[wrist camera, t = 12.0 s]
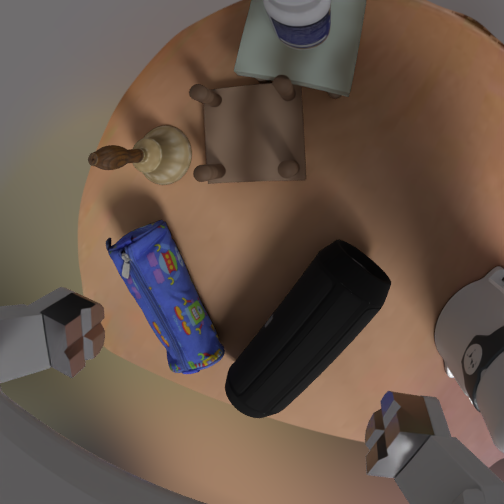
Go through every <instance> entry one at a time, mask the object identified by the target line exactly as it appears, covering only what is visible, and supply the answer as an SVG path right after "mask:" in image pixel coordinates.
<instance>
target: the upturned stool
mask: <svg viewBox="0 0 504 504" xmlns="http://www.w3.org/2000/svg"><path fill="white" fill-rule="evenodd" d="M282 76H283V77H284V75H281V77H282ZM285 76H286V75H285ZM279 77H280V75H279ZM279 77H278V76H277V77H275V78H274V80H273V83H269V84H257V85H246V86H237V87H228V88H220V89H213V90H210V89H208V88H206V87H204V86H203V85H201V84H196V85H193V86H192V87H191V89H190V91H189V95H190V97H191V98H192V99H194V100H196V101H199V102H201V103H204V123H205V142H206V160H207V165H199V166H197V167H196V168H195V169H194V173H193V174H194V178H195V179H196V180H197V181H199V182H204V181H208V184H210V183H229V182H253V181H288V180H306V164H305V141H304V122H303V105H302V90H301V86H299V85H294V84H292V83H291V80H289V79H287V78H286V79H283V78H281V77H280V78H279ZM286 77H288V76H286ZM284 78H285V77H284ZM288 78H289V77H288Z"/></svg>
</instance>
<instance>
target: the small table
mask: <svg viewBox="0 0 504 504" xmlns="http://www.w3.org/2000/svg"><path fill="white" fill-rule="evenodd" d="M365 6H366V0H331V26H330V33H329V36H328V38H327V39H326V41H325V42H324V43H323V44H321V45H320V46H318V47H316V48H313V49H310V50H297V49H293V48H290V47H288V46H286V45H285V44H283V43H282V42H281V41H280V40H279V38H278V37H277V35H276V33H275V31H274V29H273V26H272V23H271V21H270V19H269V16H268V14H267V12H266V10H265V7H264V3H263V0H252V1H251V4H250V8H249V12H248V16H247V19H246V23H245V27H244V31H243V35H242V39H241V43H240V47H239V51H238V55H237V59H236V64H235V68H234V72H235V73H236V74H238V75H239V76H247V77H254V78H256V79H257V80H258V81H259V82H260V83H261V84H267V83H269V82H270V80H272V81H273V80H274V78H275V77H277V76H278V77H279V75H280V77H281V75H284V77H285V78H284V77H283V76H282V77H281V78H283V79H286V78H287V79H289V80H291V83H292V84H294V85H299V86H304V87H309V88H313V89H318V90H322V91H327V92H328V94H329V96H330V97H332V98H334V99H337V98H340V97H341V96H342V95H343V96H347V97H349V94H350V90H351V85H352V80H353V75H354V70H355V65H356V59H357V54H358V48H359V43H360V37H361V31H362V25H363V19H364V13H365ZM285 75H286V76H288V77H289V78H288V77H286V76H285ZM280 77H279V78H280Z"/></svg>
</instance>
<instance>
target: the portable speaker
mask: <svg viewBox="0 0 504 504" xmlns="http://www.w3.org/2000/svg"><path fill="white" fill-rule="evenodd" d="M390 286H391V281H390V279H389V277H388V276H387V275H386V273H385V272H384V271H383V270H382V269H381V268H380V267H379V266H378V265H377V264H376V263H375V262H374V261H372V260H371V259H370V258H369V257H367V256H366V255H365V254H364V253H362V252H361V251H360V250H358V249H357V248H355V247H354V246H352V245H350V244H348V243H347V242H345V241H342V240H336V241H334V242H333V243H331V244H330V245H328V246H327V247H325V248H324V249H322V250H321V251H319V252H318V254H317V256H316V257H315V259H314V260H313V261H312V263H311V264H310V266H309V267H308V268H307V270H306V271H305V272H304V274H303V275H302V276H301V278H300V279H299V280H298V282H297V283H296V284H295V286H294V287H293V288H292V290H291V291H290V292H289V294H288V295H287V296H286V297H285V299H284V300H283V301H282V303H281V304H280V305H279V307H278V308H277V309H276V311H275V312H274V313H273V314H272V316H271V317H270V318H269V320H268V321H267V322H266V323H265V325H264V326H263V327H262V328H261V330H260V331H259V332H258V334H257V335H256V336H255V337H254V339H253V340H252V341H251V342H250V344H249V345H248V346H247V347H246V349H245V350H244V351H243V352H242V354H241V355H240V356H239V357H238V359H237V360H236V361H235V362H234V363H233V364H232V365H231V367H230V368H229V371H228V375H227V379H226V384H225V391H226V395H227V397H228V399H229V401H230V402H231V404H232V405H233V406H234V407H235V408H236V409H237V410H239V411H240V412H241V413H243V414H245V415H247V416H250V417H253V418H263V417H267V416H270V415H273V414H276V413H279V412H280V411H282V410H283V409H285V408H286V407H287V406H288V405H289V404H290V403H291V402H292V401H293V400H294V399H295V398H296V397H298V396H299V395H300V394H301V393H302V392H303V391H304V390H305V389H306V388H307V387H308V386H309V385H310V384H311V383H312V382H313V381H314V380H315V379H316V378H317V377H318V376H319V375H320V374H321V373H322V372H323V371H324V370H325V369H326V368H327V367H328V366H329V365H330V364H331V363H332V362H333V361H334V360H335V359H336V358H337V357H338V356H339V355H340V354H341V353H342V351H343V350H344V349H345V348H346V347H347V346H348V345H349V344H350V343H351V342H352V341H353V340H354V339H355V337H356V336H357V335H358V334H359V333H360V332H361V331H362V330H363V329H364V327H365V326H366V325H367V324H368V323H369V322H370V321H371V319H372V318H373V317H374V316H375V315H376V314H377V313H378V311H379V310H380V309H381V307H382V306H383V304H384V302H385V300H386V297H387V294H388V291H389V289H390Z"/></svg>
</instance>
